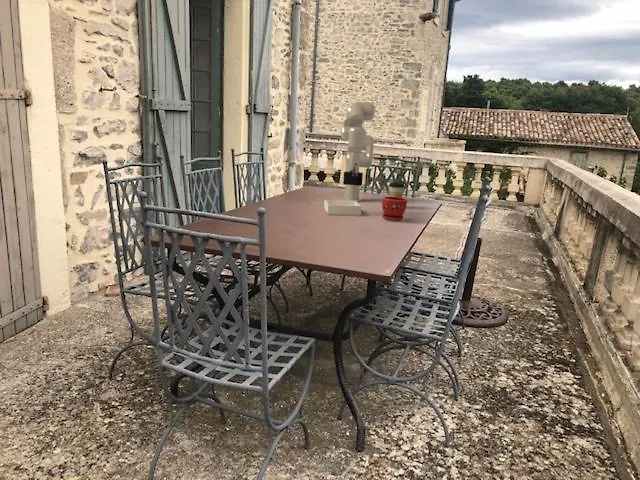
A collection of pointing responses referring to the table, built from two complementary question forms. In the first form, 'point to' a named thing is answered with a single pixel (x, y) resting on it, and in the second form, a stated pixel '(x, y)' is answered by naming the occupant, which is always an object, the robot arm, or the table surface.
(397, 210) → the plant pot
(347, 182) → the digital camera
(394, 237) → the table surface
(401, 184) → the coffee cup
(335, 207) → the box
